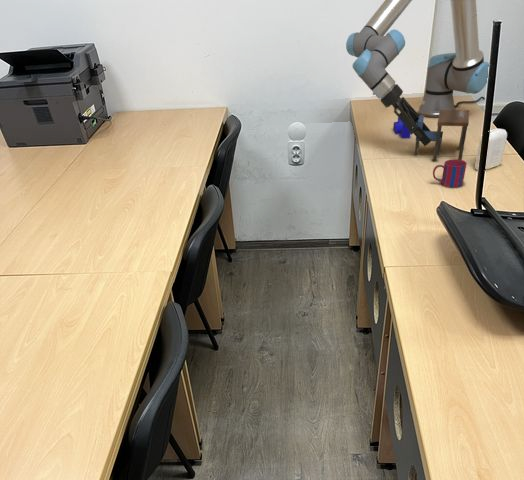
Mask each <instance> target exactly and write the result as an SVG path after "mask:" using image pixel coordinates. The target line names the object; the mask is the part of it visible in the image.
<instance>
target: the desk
mask: <svg viewBox="0 0 524 480" xmlns="http://www.w3.org/2000/svg"><path fill="white" fill-rule="evenodd" d="M469 123H470V109H469V110H468V109H455V110H440V113H439V117H438V118H437V125H436V126H437V130H436V131H437V136H436V142H435V143H434V151H433V157H432V162H437V161H438V155H437V154H438V147H439V140H440V133H441V131H442V127H461V131H460V139H459V144H458V155H457V159H458V160H462V159H463V154H464V148H465V142H466V137H467V132H468V131H467V130H468V127H469Z"/></svg>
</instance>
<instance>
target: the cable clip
mask: <svg viewBox="0 0 524 480" xmlns="http://www.w3.org/2000/svg"><path fill="white" fill-rule="evenodd" d="M392 130H393V132H394V133H395V135H399V136H400V137H401V139H410V138H411V134H410V131H409V130H408V129H407V127H406V126H405V125H404V124H403V122H402V121H401V120H400V118H399V117H398V116H397V121H393V129H392Z"/></svg>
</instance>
